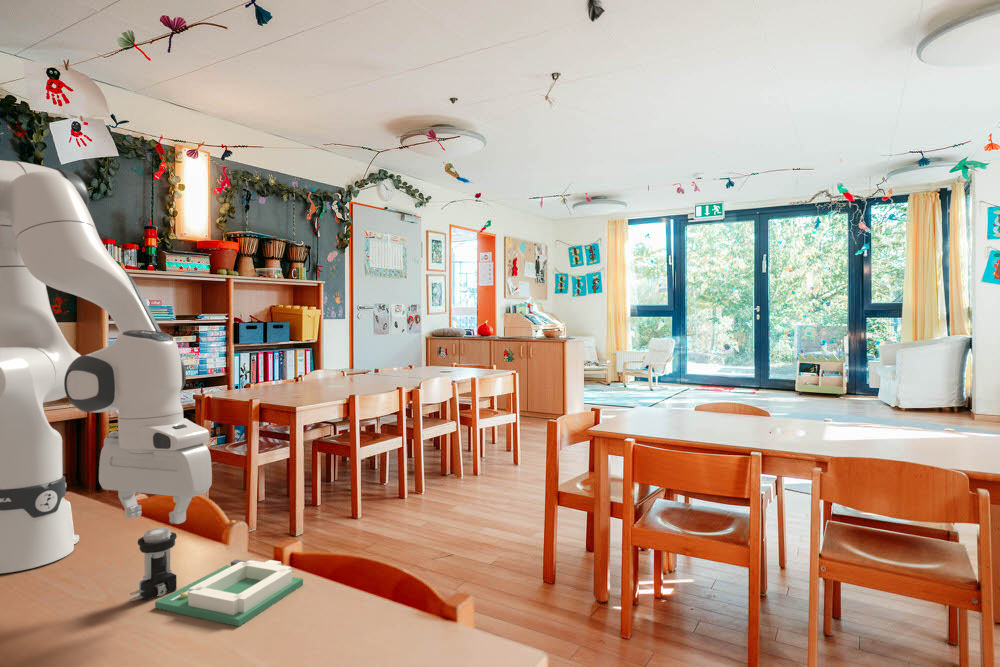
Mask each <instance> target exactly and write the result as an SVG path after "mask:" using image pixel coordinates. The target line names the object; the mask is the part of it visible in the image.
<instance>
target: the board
mask: <svg viewBox="0 0 1000 667" xmlns="http://www.w3.org/2000/svg"><path fill="white" fill-rule="evenodd" d="M246 561H247V560H246ZM303 585H304V579H303V578H301V577H295V576H293V570H292V566H287V565H282V561H278V560H274V559H273V560H272V559H269V560H266V561H265V562H264V561H257V560H254V559H253V560H251V559H250V560H248V561H247V562H239V563H237V564H235V565H233V566H231V565H228V564H227V565H225V566H222V567H221V568H219V569H216V570H214V571H212V572H211V573H209V574H206V575H204V576H203V577H201V578H199V579H197V580H195V581H193V582H191V583H190V584H187V585H185V586H183V587H182V588H180V589H176V590H175V591H173V592H170V594H168V595H164V597H162V598H160V599H158V600H155V602H154V608H155V609H156V608H158V609H157V610H161V609H163V610H162V611H165V610H167V611H166V612H170V611H171V612H170V613H175V612H176V613H175V614H180V615H184V616H190V617H192V618H199V619H203V620H207V621H211V622H217V623H220V624H225V623H226V624H225V625H229V624H231V625H230V626H234V625H235V626H234V627H241V626H243V625H244V624H245V623H247V622H248V620H249V621H250V620H252V619H253V618H255V617H257V615H260V614H261V613H263V612H264V611H265V610H267V609H268V608H270V607H272V606H273V605H274V604H276V603H278V602H279V601H280V600H282V599H283V597H284V598H285V597H287V596H288V595H290V594H291V593H293V592H294V591H295V590H297V589H299V588H300V587H302V586H303ZM289 593H290V594H289ZM286 595H287V596H286ZM272 604H273V605H272ZM263 610H264V611H263ZM254 616H255V617H254ZM251 618H252V619H251ZM221 622H222V623H221ZM243 623H244V624H243ZM240 625H241V626H240Z"/></svg>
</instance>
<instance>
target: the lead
mask: <svg viewBox="0 0 1000 667" xmlns="http://www.w3.org/2000/svg"><path fill="white" fill-rule="evenodd" d="M239 562H247V560H246V561H245V560H242V559H234V560H232V561H230V566H233V565H235V564H237V563H239Z"/></svg>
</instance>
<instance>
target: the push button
mask: <svg viewBox="0 0 1000 667" xmlns="http://www.w3.org/2000/svg"><path fill="white" fill-rule="evenodd" d="M143 534H144V536H142V537H140V538H138V539H137V545H138V546H139V551H140V552H141V553H144V576H142V580H140V581H139V583H138V584H139V585H138V586H139V587H138V588H139V589H137V590H136V591H134V592H133V591H132V592H129V596H134V595H137V594H139V595H137V596H135V597H132V598H129V601H130V602H132V601H136V600H140V599H142V600H144V601H148V599H149V600H151V599H153V598H152V597H154V598H156V597H155V596H157V595H158V596H157V597H162V596H165V594H167V593H166V592H168V591H170V592H168V593H172V592H171V591H173V592H175V591H177V590H178V589H177V574H175V573H173V572H172V571H173V569H172V568H171V549H172V548H174V546H176V540H177V537H178V536H177V533H176V532H173V531H172V532H171V529H170V528H169V527H158V528H153V529H150V530H146V531H145V532H144V533H143ZM174 590H175V591H174ZM150 598H151V599H150Z"/></svg>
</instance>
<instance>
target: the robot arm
mask: <svg viewBox="0 0 1000 667" xmlns="http://www.w3.org/2000/svg"><path fill="white" fill-rule="evenodd" d="M89 206H90V195H89V190H88V188H87V186H86V184H85V182H84V181H83V179H82V178H81V177H80V176H79V175H77V174H75V173H73V172H71V171H68V170H65V169H62V168H58V167H52V168H51V167H48V166H43V165H39V164H35V163H29V162H26V161H18V160H2V159H0V574H7V573H14V572H21V571H25V570H29V569H34V568H38V567H42V566H44V565H48V564H51V563H53V562H56V561H58V560H61V559H63V558H65V557H67V556H69V555H70V554H72V552H74V550H75V545H76V544H77V543H79V542H80V540H79V539H80V535H79V534H75V531H74V529H75V528H74V523H73V513H72V506H71V502H70V501H68V499H65V496H66V494H67V482H66V476H65V475H63V438H62V435H61V433H60V432H58V430H56V429H55V428H53V427H52V426H51V424H50V423H49V421H48V418H47V416H46V412H45V410H44V404H45V403H49V402H54V401H58V400H61V399H63V398H65V397H67V399H68V401H69V402H70V403H71V404H72V405H73V406H74V407H75V408H77V409H78V410H80V411H82V412H84V413H96V414H97V413H105V412H111V411H117V410H118V412H117V413H118V416H117V425H118V430H112V431H110V432H109V433H108V434H107V435H106V436H105V438H104V440H103V447H102V448H101V451H100V455H99V466H98V482H99V485H100V486H101V488H102V489H103V490H110V491H117V493H118V495H117V497H118V499H119V502H121V504H122V506H123V508H124V518H126V519H137V518H139V517H141V515H142V513H143V512H142V505H141V504H138V501H137V498H136V495H135V494H137V493H140V494H150V495H161V496H162V495H163V496H170V497H171V496H172V500H173V501H172V502H173V503H175V506H174V509H173V510H172V511H169V512H168V517H169V524H175V525H179V524H182V523H185V521H186V520H187V510H188V508H189V506H190V503H191V502H192V498H195V497H197V496H201V495H204V494H205V493H207V492H209V490H210V488H211V486H212V482H213V478H212V477H213V474H212V471H213V470H212V469H213V468H212V458H211V452H210V450H209V447H208V446H207V445H206V443H208V442H209V441H210V431H209V430H208V429H207V428H205V427H203V426H201V425H199V424H196V423H194V422H193V421H191V420H189V419H188V418H186V417H185V418H184V407H183V404H182V402H181V392H182V390H183V389H184V386H185V384H186V379H187V372H186V368H185V364H184V362H183V360H182V358H181V355H180V350H179V347H178V346H179V345H178V343H177V340H176V339H175V338H174V336H172V335H171V334H169V333H167V332H163V331H162V329H161V328H160V326H159V324H158V322H157V320H156V318H155V317H154V314H153V312H152V311H151V309H150V307H149V305H148V303H147V301H146V300H145V298H144V295H143V294H142V292H141V290H140V288H139V286H138V285H137V283H136V282H135V280H134V279H133V277H132V276H131V275H130V274H129V272H128V271H126V269H124V268H123V267H122V266H121V265H120V264H118V262H117V261H116V260H115V259H114V257H112V255H111V253H110V252H109V251H108V250H107V248H106V246H105V245H104V243H103V241H102V239H101V237H100V236H99V232H98V230H97V227H96V224H95V222H94V219H93V217H92V215H91V213H90V211H89ZM47 286H48V287H50V288H52V289H55V290H57V291H61V292H63V293H67V294H71V295H74V296H76V297H79V298H81V299H84V300H86V301H88V302H90V303H93V304H95V305H97V306H98V307H100V308H101V309H103V311H106V313H108V314H109V316H110V318H112V320H113V322H114V324H115V326H116V327H117V329H118V331H119V333H120V334H118V336H117V337H116V340H115V341H113V342H112V343H111V344H109V345H107V346H105V347H103V348H101V349H98V350H96V351H93V352H90V353H88V354H84V355H81V353H79V352H77V351H76V350H75V349H73V347H72V346H71V345H70V343H69V342H68V340H66V337H65V336H64V334H63V333H62V330H61V328H60V326H59V324H58V323H57V320H56V318H55V316H54V314H53V310H52V308H51V304H50V298H49V294H48V290H47ZM78 541H79V542H78ZM74 544H75V545H74Z"/></svg>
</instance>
